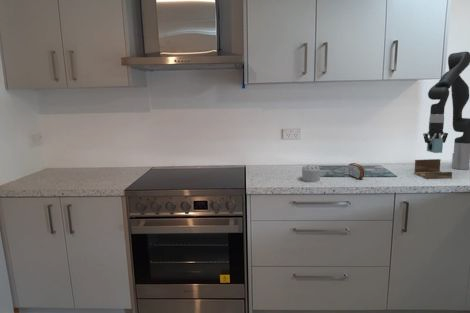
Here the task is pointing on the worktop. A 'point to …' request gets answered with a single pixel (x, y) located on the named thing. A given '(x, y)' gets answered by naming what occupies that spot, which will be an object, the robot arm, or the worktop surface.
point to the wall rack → (430, 169)
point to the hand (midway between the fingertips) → (434, 149)
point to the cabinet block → (436, 146)
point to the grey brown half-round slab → (356, 170)
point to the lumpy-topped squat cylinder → (310, 173)
